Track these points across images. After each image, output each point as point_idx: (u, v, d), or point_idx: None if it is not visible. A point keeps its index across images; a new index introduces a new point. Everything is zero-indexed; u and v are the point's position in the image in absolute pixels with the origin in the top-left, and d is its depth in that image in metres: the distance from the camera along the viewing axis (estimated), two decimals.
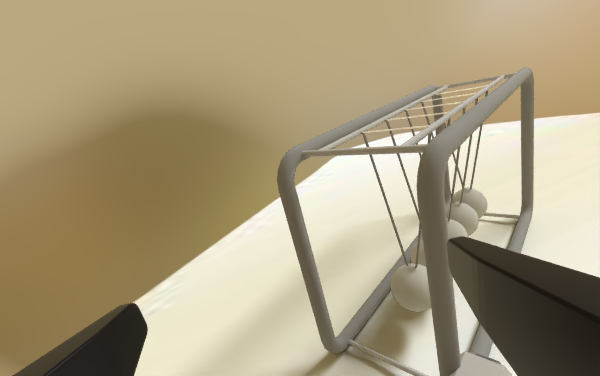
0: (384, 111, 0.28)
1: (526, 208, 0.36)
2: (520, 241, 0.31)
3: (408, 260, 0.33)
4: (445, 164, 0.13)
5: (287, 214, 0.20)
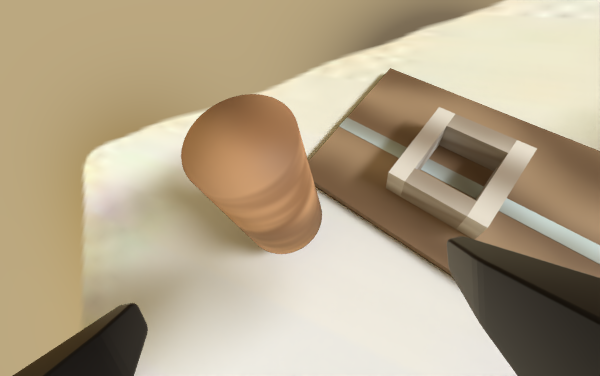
0: None
1: None
2: None
3: None
4: None
5: None
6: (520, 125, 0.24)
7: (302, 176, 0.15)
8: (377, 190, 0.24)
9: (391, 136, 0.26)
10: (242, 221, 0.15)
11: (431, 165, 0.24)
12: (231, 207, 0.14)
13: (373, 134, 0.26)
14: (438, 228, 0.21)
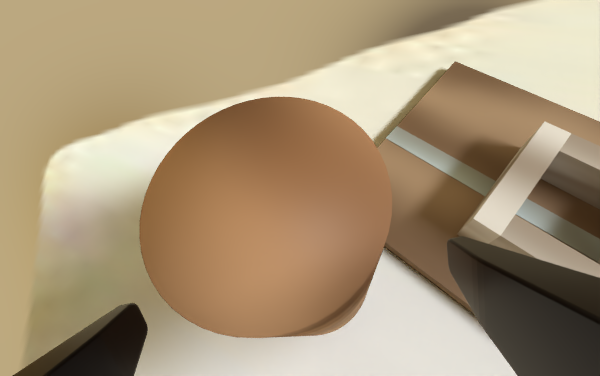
0: None
1: None
2: None
3: None
4: None
5: None
6: None
7: None
8: (444, 237, 0.16)
9: (461, 156, 0.18)
10: None
11: (524, 204, 0.16)
12: None
13: (436, 153, 0.19)
14: None
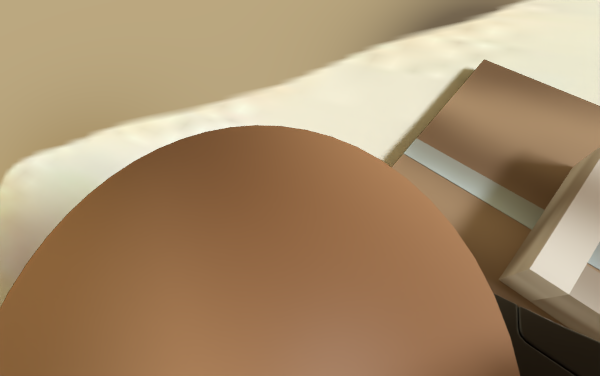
0: None
1: None
2: None
3: None
4: None
5: None
6: None
7: None
8: None
9: (499, 177, 0.15)
10: None
11: None
12: None
13: (466, 173, 0.15)
14: None
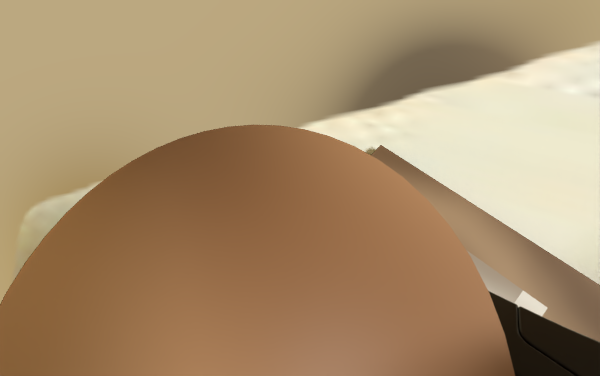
0: None
1: None
2: None
3: None
4: None
5: None
6: (529, 249, 0.19)
7: None
8: None
9: None
10: None
11: None
12: None
13: None
14: None
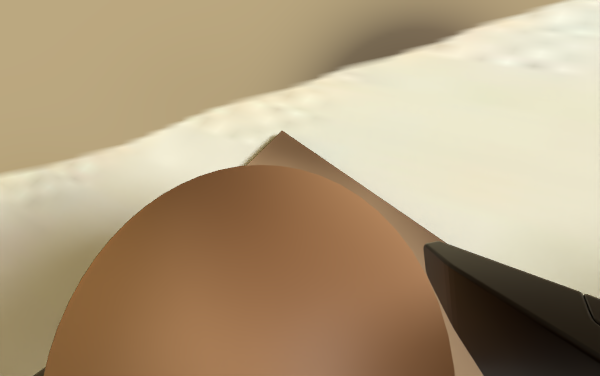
0: None
1: None
2: None
3: None
4: None
5: None
6: None
7: None
8: None
9: None
10: None
11: None
12: None
13: None
14: None
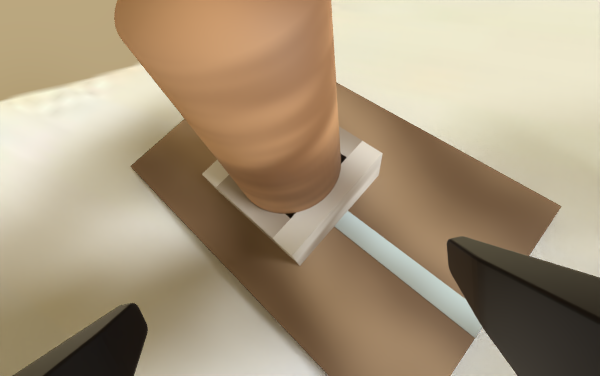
0: None
1: None
2: None
3: None
4: None
5: None
6: (393, 122, 0.19)
7: (327, 65, 0.09)
8: (209, 194, 0.19)
9: None
10: (223, 143, 0.09)
11: None
12: (201, 101, 0.08)
13: None
14: (263, 248, 0.17)
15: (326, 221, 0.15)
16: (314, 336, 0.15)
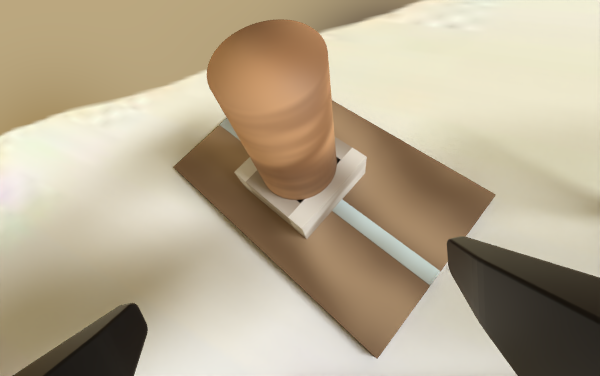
0: None
1: None
2: None
3: None
4: None
5: None
6: (377, 133, 0.25)
7: (327, 105, 0.15)
8: (236, 188, 0.25)
9: None
10: (263, 151, 0.15)
11: None
12: (255, 128, 0.14)
13: None
14: (279, 227, 0.23)
15: (326, 205, 0.21)
16: (318, 287, 0.21)
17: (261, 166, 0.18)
